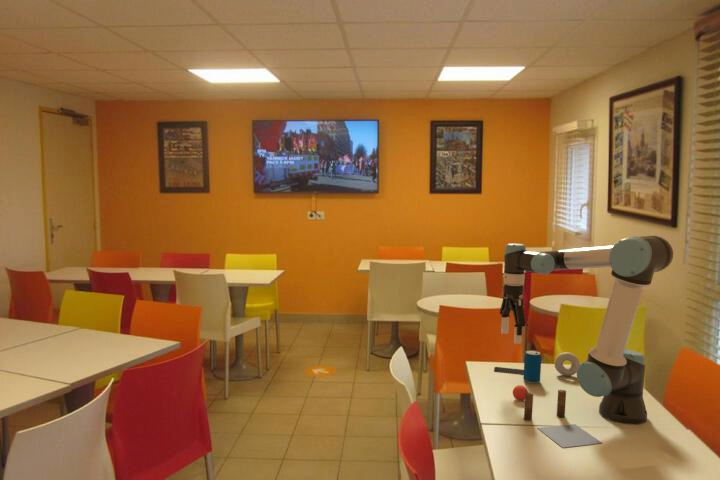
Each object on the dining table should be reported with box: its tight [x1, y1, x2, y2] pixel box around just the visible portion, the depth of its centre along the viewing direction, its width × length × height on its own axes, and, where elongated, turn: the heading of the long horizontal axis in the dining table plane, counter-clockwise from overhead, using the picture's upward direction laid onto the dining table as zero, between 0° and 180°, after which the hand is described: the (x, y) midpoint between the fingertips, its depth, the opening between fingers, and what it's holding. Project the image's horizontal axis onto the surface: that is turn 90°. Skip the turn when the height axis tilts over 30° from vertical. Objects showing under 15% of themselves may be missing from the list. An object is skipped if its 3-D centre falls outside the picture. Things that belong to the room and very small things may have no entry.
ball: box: [512, 384, 529, 402], centre depth 212 cm, size 6×6×6 cm
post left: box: [523, 391, 534, 422], centre depth 194 cm, size 3×3×9 cm
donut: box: [554, 351, 581, 377], centre depth 239 cm, size 10×3×10 cm, turn 75°
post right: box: [556, 389, 567, 419], centre depth 198 cm, size 3×3×9 cm
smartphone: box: [493, 366, 524, 376], centre depth 244 cm, size 7×1×14 cm
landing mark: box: [537, 423, 603, 449], centre depth 183 cm, size 14×14×1 cm
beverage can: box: [523, 349, 542, 385], centre depth 231 cm, size 6×6×12 cm
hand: (511, 338), depth 222 cm, fingers open, 13 cm apart
